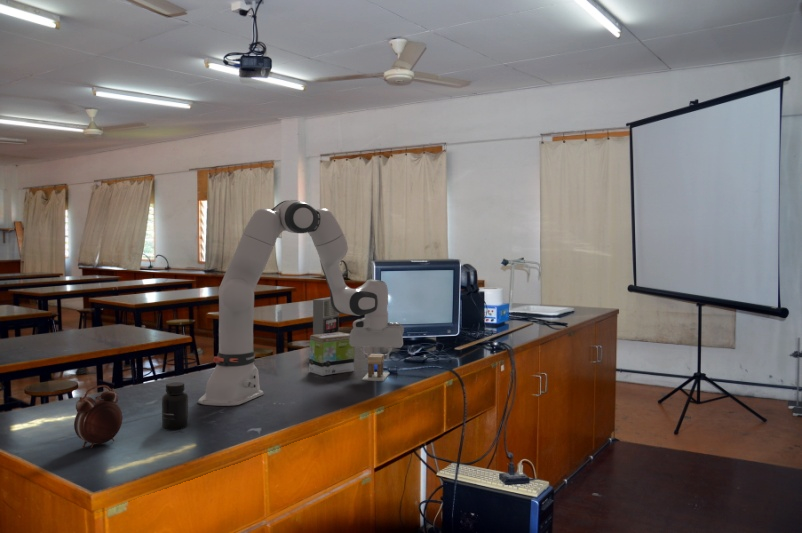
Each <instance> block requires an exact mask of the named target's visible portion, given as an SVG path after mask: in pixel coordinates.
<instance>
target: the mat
mask: <svg viewBox="0 0 802 533" xmlns="http://www.w3.org/2000/svg"><path fill="white" fill-rule="evenodd" d="M389 376H390V372H385V371H383V374H382V375H381V377H380V378H378V377H377V371H374V374H372V377H368V372H367V373H366V374H365V375H364V377H362V381H370V382H371V381H372V382H384V381H385V380H386V379H387V378H388V377H389Z"/></svg>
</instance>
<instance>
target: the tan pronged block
mask: <svg viewBox="0 0 802 533" xmlns="http://www.w3.org/2000/svg"><path fill="white" fill-rule="evenodd" d="M384 361H385V354H382V353H370V354H369V355H368V358H367V366H368V368H367V373H368V377H372V374H374V372H375V365H376V367H377V368H376V372H377V377H378V378H380V377H381V375H382V374H383V372H384Z"/></svg>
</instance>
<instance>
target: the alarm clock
mask: <svg viewBox="0 0 802 533" xmlns="http://www.w3.org/2000/svg"><path fill="white" fill-rule="evenodd" d="M102 387H103V388H106V389H107V390H106V391H104V392H102V393H101V394H100V395H99V396H95V399H94V398H93V397H90V396H88V394H89V392H90V391H92V390H95V389H98V388H102ZM118 401H119V396H118V394H117V393H116V392H115V390H114V388H111V387H110V386H108V384H107V385H106V384H101V385H95V386H93V387H91V388H89V389H87V391H85V394H84V396H83V397H82V396H80V397H79V400H77V402H75V403H76V404H75V410H76V414H75V416H74V421H73V422H74V423H73V427H74V428H73V429H74V431H75V434H76V436H77V437H78V438H79V439H81V440H82V441H84V443H83V446H82V448H84V449H85V447H86V445H87V444H88V443H89V444H91V446H90V449H93V446H94V445H95V444H96V445H102V444H105V443H108V442H109V441H111V440H112V442H115V441H116V439H114V438H115V436H116V435H117V434H118V433H119V431H120V429H121V427H122V423H123V411H122V408H120V406H119V405H118V404H117V403H118Z"/></svg>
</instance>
